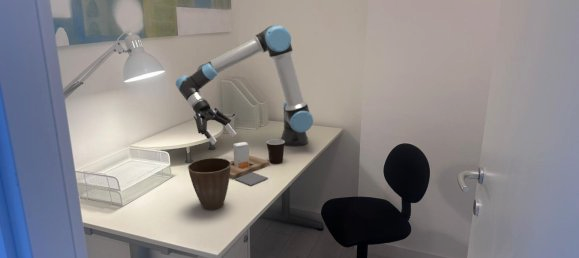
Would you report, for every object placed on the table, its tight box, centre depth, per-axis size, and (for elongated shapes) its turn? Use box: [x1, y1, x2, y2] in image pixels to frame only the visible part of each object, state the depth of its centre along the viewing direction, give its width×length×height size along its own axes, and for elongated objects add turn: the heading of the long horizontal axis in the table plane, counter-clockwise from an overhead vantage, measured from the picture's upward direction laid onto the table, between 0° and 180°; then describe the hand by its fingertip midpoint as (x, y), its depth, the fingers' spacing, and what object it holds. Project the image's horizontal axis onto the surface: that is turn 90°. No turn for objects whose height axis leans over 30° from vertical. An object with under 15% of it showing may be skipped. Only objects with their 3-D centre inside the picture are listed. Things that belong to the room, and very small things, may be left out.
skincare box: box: [232, 141, 250, 169], centre depth 175 cm, size 6×4×12 cm
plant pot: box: [187, 157, 231, 211], centre depth 139 cm, size 15×15×16 cm
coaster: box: [234, 172, 269, 187], centre depth 164 cm, size 10×10×1 cm
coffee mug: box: [266, 138, 285, 165], centre depth 185 cm, size 12×9×10 cm
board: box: [229, 154, 271, 181], centre depth 176 cm, size 22×14×2 cm, turn 138°
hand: (225, 139), depth 177 cm, fingers open, 13 cm apart
